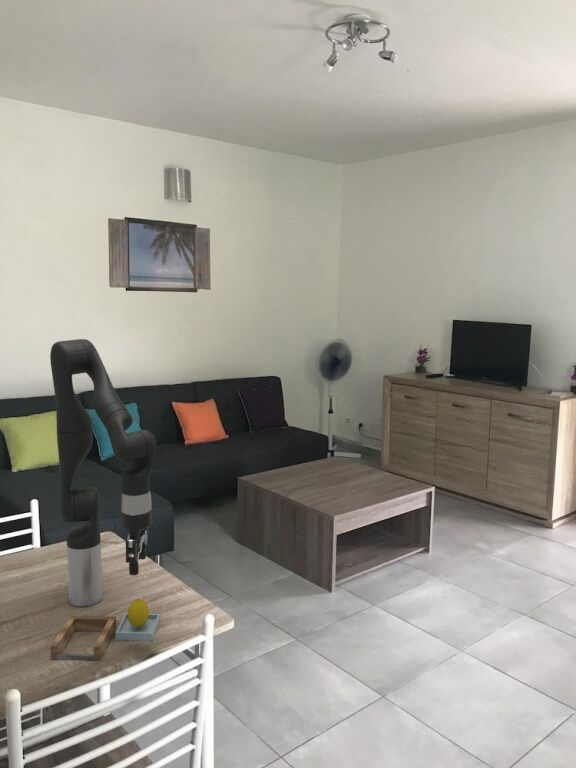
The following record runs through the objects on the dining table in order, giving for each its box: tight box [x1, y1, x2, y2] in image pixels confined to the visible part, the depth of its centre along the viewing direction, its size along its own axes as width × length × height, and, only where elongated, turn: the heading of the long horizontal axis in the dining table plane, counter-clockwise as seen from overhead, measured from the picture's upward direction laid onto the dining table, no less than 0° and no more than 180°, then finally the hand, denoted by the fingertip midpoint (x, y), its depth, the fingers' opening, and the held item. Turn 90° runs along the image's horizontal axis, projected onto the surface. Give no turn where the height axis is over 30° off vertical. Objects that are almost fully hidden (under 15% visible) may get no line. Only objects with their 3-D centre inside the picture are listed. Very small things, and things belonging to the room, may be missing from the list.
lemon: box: [127, 598, 150, 628], centre depth 166 cm, size 6×6×8 cm
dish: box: [115, 612, 161, 642], centre depth 167 cm, size 9×9×2 cm
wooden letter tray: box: [50, 615, 117, 661], centre depth 160 cm, size 14×12×4 cm
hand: (137, 566), depth 164 cm, fingers open, 8 cm apart
